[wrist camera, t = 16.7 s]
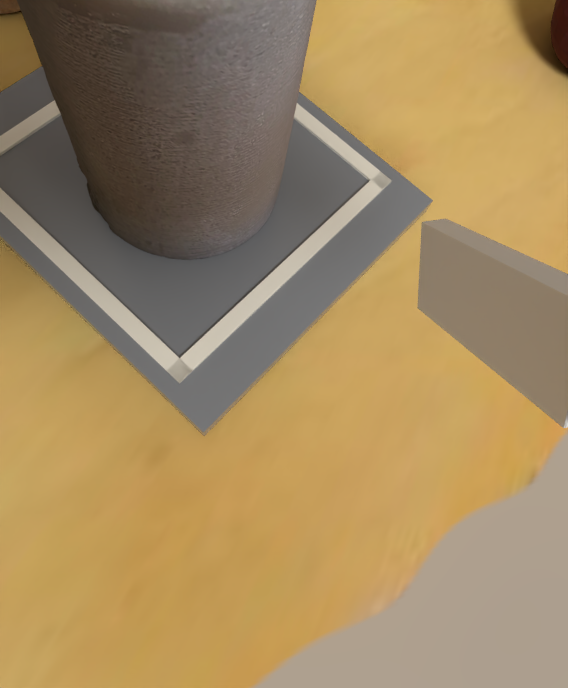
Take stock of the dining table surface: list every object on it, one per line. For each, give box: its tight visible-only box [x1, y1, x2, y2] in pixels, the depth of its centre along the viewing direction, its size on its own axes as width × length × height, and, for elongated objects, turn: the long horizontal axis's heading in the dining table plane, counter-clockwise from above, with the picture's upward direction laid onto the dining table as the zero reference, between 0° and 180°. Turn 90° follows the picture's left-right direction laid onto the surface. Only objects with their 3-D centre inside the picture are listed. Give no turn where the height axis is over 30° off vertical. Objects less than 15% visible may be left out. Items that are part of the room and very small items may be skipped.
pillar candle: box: [17, 0, 316, 260], centre depth 20 cm, size 10×10×15 cm
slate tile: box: [0, 66, 433, 436], centre depth 27 cm, size 20×17×1 cm
